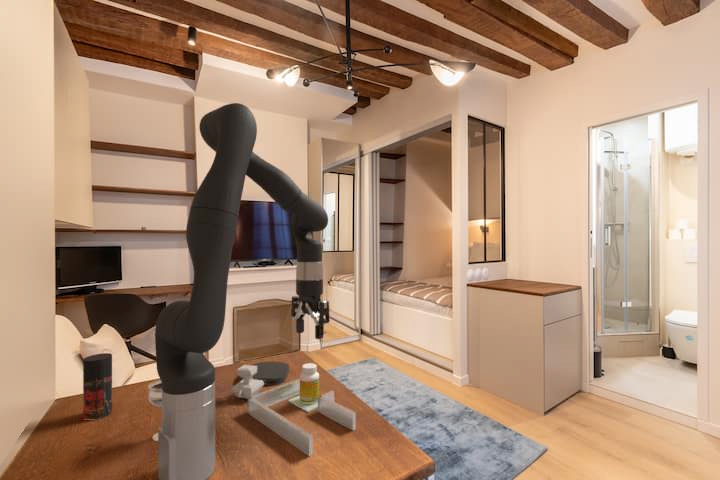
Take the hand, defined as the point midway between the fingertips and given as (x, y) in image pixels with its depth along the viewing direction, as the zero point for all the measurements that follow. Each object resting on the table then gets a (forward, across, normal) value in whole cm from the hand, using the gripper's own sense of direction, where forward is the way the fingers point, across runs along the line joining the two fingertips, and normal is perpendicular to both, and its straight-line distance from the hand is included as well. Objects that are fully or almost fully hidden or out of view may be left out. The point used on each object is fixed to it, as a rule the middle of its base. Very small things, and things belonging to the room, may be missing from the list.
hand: (309, 335), depth 94 cm
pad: (+19, 0, 0) cm, 19 cm away
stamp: (+19, -16, -10) cm, 27 cm away
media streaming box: (+19, -25, +1) cm, 32 cm away
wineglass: (+19, -12, -33) cm, 40 cm away
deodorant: (+19, -35, -42) cm, 58 cm away
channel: (+19, +6, -6) cm, 20 cm away
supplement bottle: (+18, 0, 0) cm, 18 cm away
